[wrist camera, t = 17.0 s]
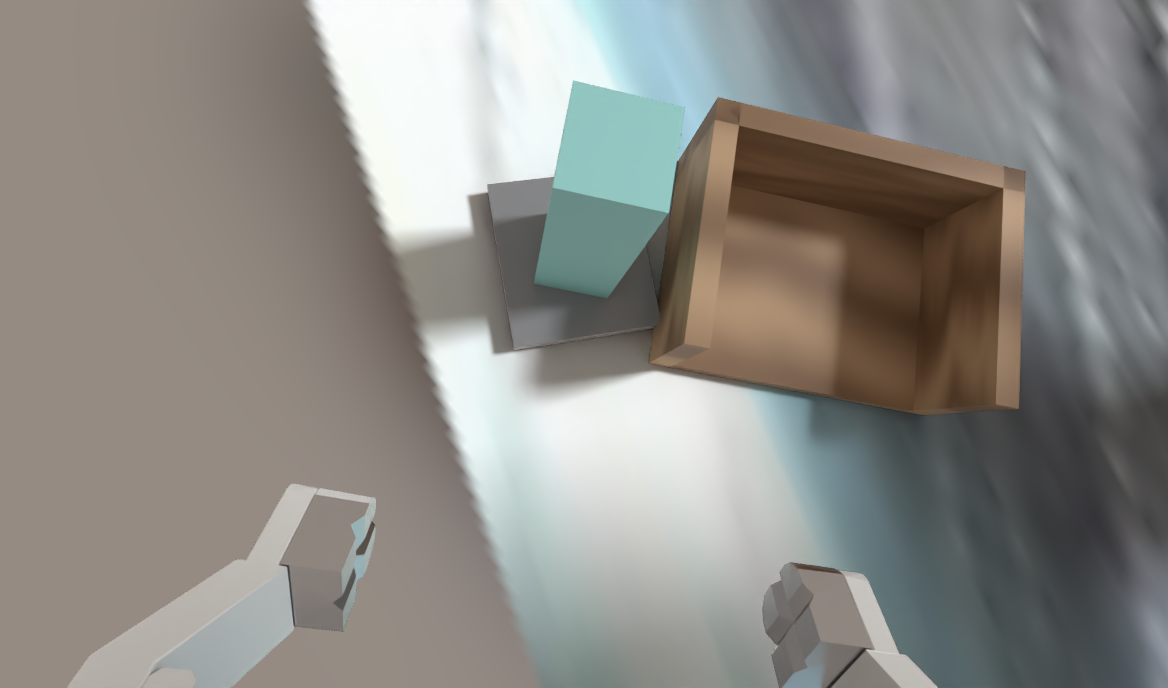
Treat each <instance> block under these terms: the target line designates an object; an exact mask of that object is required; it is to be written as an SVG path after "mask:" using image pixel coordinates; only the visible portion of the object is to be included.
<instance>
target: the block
mask: <svg viewBox="0 0 1168 688" xmlns="http://www.w3.org/2000/svg"><path fill="white" fill-rule="evenodd" d="M684 110H685V107H682V106H677V105H673V104H669V103H665V102H661V101H656V100H652V99H648V98H644V97H640V96H636V95H631V94H627V93H623V92H619V91H615V90H611V89H606V88H602V87H598V86H594V85H590V84H586V83H581V82H577V81H573V84H572V89H571V95H570V100H569V105H568V110H567V115H566V120H565V125H564V130H563V135H562V140H561V145H560V151H559V156H558V161H557V166H556V171H555V176H554V181H553V186H552V191H551V196H550V201H549V207H548V212H547V217H546V222H545V227H544V232H543V238H542V243H541V248H540V253H539V258H538V264H537V269H536V274H535V279H534V284H538V285H543V286H548V287H553V288H558V289H563V290H568V291H573V292H578V293H583V294H588V295H593V296H597V297H602V298H608V297H609V295H610V294H611V293H612V291H613V290H614V288H615V287H616V286H617V284H618V283H619V281H620V280H621V279H622V277H623V276H624V275H625V273H626V272H627V270H628V269H629V268H630V266H631V265H632V264H633V262H634V261H635V259H636V258H637V257H638V255H639V254H640V252H641V251H642V250H643V248H644V247H645V246H646V244H647V243H648V241H649V240H650V239H651V237H652V236H653V234H654V233H655V232H656V230H657V229H658V228H659V226H660V225H661V223H662V222H663V221H664V219H665V218H666V216H667V215H668V214H669V209H670V203H671V196H672V190H673V183H674V176H675V170H676V163H677V157H678V150H679V143H680V137H681V130H682V123H683V117H684Z"/></svg>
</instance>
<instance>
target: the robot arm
mask: <svg viewBox="0 0 1168 688" xmlns="http://www.w3.org/2000/svg"><path fill="white" fill-rule="evenodd" d="M375 511H376V498H371V497H366V496H360V495H355V494H349V493H344V492H338V491H332V490H327V489H321V488H316V487H309V486H304V485H298V484H291V485H290V486H289V487H288V488H287V489H286V490H285V491H284V493H283V495H282V496H281V498H280V500H279V502H278V503H277V505H276V507H275V509H274V510H273V512H272V514H271V516H270V517H269V519H268V521H267V523H266V524H265V526H264V528H263V530H262V531H261V533H260V535H259V537H258V538H257V540H256V542H255V544H254V545H253V547H252V549H251V551H250V552H249V554H248V556H247V558H246V559H245V560H240V559H236V560H235V561H233V562H231V563H230V564H228V565H227V566H226V567H224V568H222V569H221V570H219V571H218V572H216V573H215V574H213V575H211V576H210V577H208V578H207V579H205V580H204V581H202V582H201V583H199V584H198V585H196V586H195V587H193V588H192V589H190V590H189V591H187V592H186V593H184V594H183V595H181V596H179V597H178V598H176V599H175V600H173V601H172V602H170V603H169V604H167V605H166V606H164V607H163V608H161V609H160V610H158V611H156V612H155V613H153V614H152V615H150V616H149V617H148V618H146V619H144V620H143V621H141V622H140V623H138V624H137V625H135V626H134V627H132V628H131V629H129V630H127V631H126V632H124V633H123V634H121V635H120V636H118V637H117V638H115V639H114V640H112V641H111V642H109V643H108V644H106V645H105V646H103V647H102V648H100V649H98V650H97V651H95V652H94V653H93V654H91V655H90V656H89V657H88V659H87V660H86V661H85V663H84V664H83V665H82V667H81V668H80V670H79V671H78V673H77V674H76V675H75V677H74V678H73V679H72V681H71V682H70V684H69V685H68V687H67V688H231V687H232V686H233V685H234V684H236V683H237V682H238V681H239V680H240V679H241V678H242V677H243V676H244V675H245V674H246V673H248V672H249V671H250V670H251V669H252V668H253V667H254V666H255V665H256V664H257V663H258V662H259V661H260V660H262V659H263V658H264V657H265V656H266V655H267V654H268V653H269V652H270V651H271V650H273V649H274V648H275V647H276V646H277V645H278V644H279V643H280V642H281V641H282V640H283V639H285V637H287V636H288V635H289V634H290V633H291V632H292V631H293V630H294V627H303V628H312V629H322V630H331V631H341V632H343V631H344V628H345V626H346V623H347V620H348V618H349V615H350V612H351V609H352V607H353V604H354V601H355V599H356V581H357V580H358V579H360V578H361V577H362V576H364V574H365V571H366V568H367V566H368V563H369V560H370V556H371V552H372V548H373V544H374V537H375V524H374V523H373V522H372V519H373V516H374V513H375ZM780 576H781V579H782V580H781V581H779V582H777V583H775V584H773V585H771V586H770V588H769V589H768V591H767V593H766V594H765V597H764V603H763V622H764V626H765V631H766V633H767V635H768V636H769V637H770V638H771V639H772V641H773V642H774V643H775V644H776V646H775V648H774V651H773V653H772V655H771V656H772V660H773V664H774V668H775V672H776V676H777V680H778V684H779V688H938V687H937V686H936V685H935V684H934V683H933V682H932V681H931V680H930V679H929V678H928V677H927V676H926V675H925V674H924V673H923V672H922V671H921V670H920V669H919V668H918V666H917V665H916V664H915V663H914V662H913V661H912V660H911V659H910V658H909V657H908V656H907V655H903V654H899V652H898V650H897V647H896V645H895V642H894V640H893V638H892V635H891V633H890V631H889V628H888V626H887V624H886V621H885V619H884V617H883V614H882V612H881V609H880V607H879V605H878V602H877V600H876V598H875V595H874V593H873V591H872V588H871V586H870V584H869V581H868V579H867V578H866V577H865V576H864V575H863V574H861V573H856V572H849V571H843V570H836V569H834V568H827V567H820V566H813V565H806V564H798V563H788V564H786V565H784V567H783V568H782V570H781V571H780Z"/></svg>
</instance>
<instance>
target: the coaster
mask: <svg viewBox="0 0 1168 688" xmlns="http://www.w3.org/2000/svg"><path fill="white" fill-rule="evenodd" d="M553 181H554V177H550V178H541V179H532V180H523V181H514V182H505V183H497V184H488V185H487V189H488V197H489V203H490V209H491V215H492V221H493V227H494V233H495V239H496V245H497V251H498V257H499V263H500V269H501V275H502V281H503V287H504V293H505V299H506V305H507V311H508V317H509V323H510V329H511V335H512V341H513V347H514V350H521V349H527V348H533V347H540V346H546V345H552V344H558V343H565V342H571V341H577V340H584V339H590V338H596V337H603V336H609V335H615V334H621V333H628V332H634V331H640V330H647V329H653V328H655V327H656V326H657V325H658V323H659V317H660V312H659V307H658V302H657V297H656V292H655V287H654V283H653V278H652V273H651V268H650V263H649V258H648V253H647V248H646V246H645V247H644V248H643V250H642V251H641V252H640V254H639V255H638V257H637V258H636V259H635V261H634V262H633V264H632V265H631V266H630V268H629V269H628V270H627V272H626V273H625V275H624V276H623V277H622V279H621V280H620V281H619V283H618V284H617V286H616V287H615V288H614V290H613V291H612V293H611V294H610V295H609V297H608V298H602V297H597V296H593V295H588V294H583V293H578V292H573V291H568V290H563V289H558V288H553V287H548V286H543V285H538V284H534V279H535V274H536V269H537V264H538V258H539V253H540V248H541V243H542V238H543V232H544V227H545V222H546V217H547V212H548V207H549V201H550V196H551V191H552V186H553Z"/></svg>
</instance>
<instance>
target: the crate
mask: <svg viewBox="0 0 1168 688" xmlns="http://www.w3.org/2000/svg"><path fill="white" fill-rule="evenodd" d="M1025 175H1026V171H1022V170H1018V169H1013V168H1009V167H1005V166H1001V165H997V164H993V163H989V162H984V161H980V160H976V159H972V158H968V157H964V156H960V155H955V154H951V153H947V152H943V151H939V150H935V149H931V148H926V147H922V146H918V145H914V144H910V143H906V142H901V141H897V140H893V139H889V138H885V137H881V136H877V135H872V134H868V133H864V132H860V131H856V130H852V129H848V128H843V127H839V126H835V125H831V124H827V123H823V122H819V121H814V120H810V119H806V118H802V117H798V116H794V115H790V114H785V113H781V112H777V111H773V110H769V109H765V108H760V107H756V106H752V105H748V104H744V103H740V102H736V101H731V100H727V99H723V98H719V97H718V98H717V100H716V101H715V103H714V105H713V106H712V108H711V109H710V111H709V113H708V114H707V116H706V117H705V119H704V121H703V122H702V124H701V125H700V127H699V129H698V130H697V132H696V133H695V135H694V137H693V138H692V140H691V142H690V143H689V145H688V146H687V148H686V150H685V151H684V153H683V154H682V156H681V158H680V159H679V161H678V168H677V175H676V181H675V188H674V195H673V201H672V208H671V215H670V222H669V228H668V235H667V242H666V249H665V255H664V262H663V269H662V276H661V282H660V289H659V296H658V307H659V312H660V317H659V323H658V325H657V326H656V327H655V328H654V329H653V336H652V343H651V350H650V356H649V363H650V364H655V365H660V366H666V367H671V368H676V369H681V370H687V371H692V372H697V373H703V374H708V375H713V376H718V377H724V378H729V379H734V380H739V381H745V382H750V383H755V384H761V385H766V386H771V387H776V388H782V389H787V390H792V391H797V392H803V393H808V394H813V395H818V396H824V397H829V398H834V399H840V400H845V401H850V402H855V403H861V404H866V405H871V406H876V407H882V408H887V409H892V410H898V411H903V412H908V413H913V414H919V415H935V414H949V413H964V412H978V411H993V410H1007V409H1019V387H1020V351H1021V316H1022V281H1023V246H1024V210H1025Z"/></svg>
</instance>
